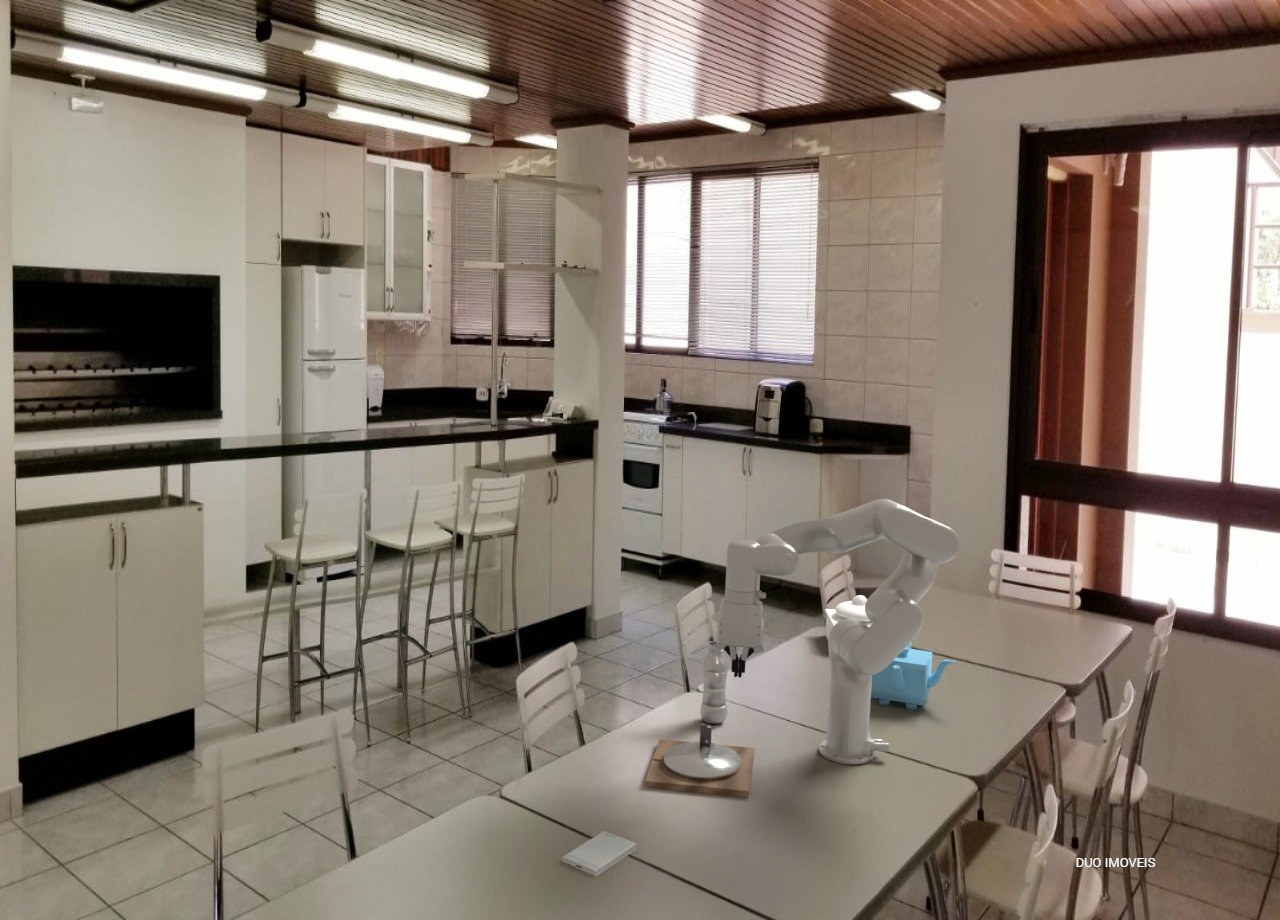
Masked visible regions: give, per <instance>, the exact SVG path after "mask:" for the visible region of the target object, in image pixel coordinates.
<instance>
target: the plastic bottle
mask: <svg viewBox="0 0 1280 920" xmlns="http://www.w3.org/2000/svg"><path fill="white" fill-rule="evenodd" d="M716 642H717V641H709V642H708V648H707V652H708V653H707V654H706V655H705V656H704V658H702V662H701V671H702V679H703V684H702V685H703V690H702V702H701V705H700V711H699V712H700V717H701V719H702V721H704V722H706V724H716V725H717V724H722V723H724V722H725V721H726V719H727V716H728V706H727V699H726V689H727V687H726V686H727V677H728V671H729V662H728V660H727V657H726V655H725V654H724V652H725V651H724V650H720V649H717V648H716V647H715V645H716Z"/></svg>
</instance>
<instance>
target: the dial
mask: <svg viewBox="0 0 1280 920" xmlns="http://www.w3.org/2000/svg"><path fill="white" fill-rule="evenodd" d="M699 728H700V730H699V741H687V742H688V743H682V744H678V745H675V746H673V747H671V748H669V749H668V750H667V751H666V752H665V754H664V765H665V767H666V768H667V769H668V770H669V771H671V772H672V773H674V774H676V775H679V776H682V777H685V778H689V779H696V780H717V779H723V778H727V777H729V776H732V775H734V774H735V773H737V772H738V771H739V769H740V767H741V758H740V756H739V755H738V754H737V753H736V752H735V751H734V750H732V749H730V748H728V747H726V746H723V745H724V744H719V743H714V742H712V732H713V731H712V728H713V726H712V725H711V723H702V724H700V727H699Z"/></svg>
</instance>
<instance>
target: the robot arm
mask: <svg viewBox="0 0 1280 920" xmlns="http://www.w3.org/2000/svg"><path fill="white" fill-rule="evenodd" d="M882 539H883V540H885V541H887V542H889V543H891V544H892V545H894V546H897V547H899V548H900V549H902V550H904V551H903V557H902V559H901V562H900V563H899V565H898V566H897V568H896V569H895V570H894V571H893V572H892V573H891V575H889V576H888V577H887V579H885V580H884V581H883V582H882V583H881V584H880V586H878V587H877V588H876V589H875V590H874V591H873V593H871V594H870V596H869V597H868V598H867V601H866V604H865V613H866V615H867V617H868V619H869V620H870V621H871V622H872V623H873V624H872V625H871V626H870V627H868V626H866V625H865V624H864V623H862V622H860V621H858V620H855V619H844V620H841V621H839V622H838V623H836V624H835V625H834V627H833V628H832V630H831V632H830V635H829V640H827V642H828V643H827V644H828V645H827V648H828V656H829V657H828V659H829V686H828V700H827V718H826V722H827V723H826V735H825V736H826V738H825V739H824V740H822V741H821V742H820V743H819V746H818V752H819V753H820V755H821V756H822V757H824V758H825V759H826V760H828V761H831V762H835V763H838V764H844V765H861V764H866V763H869V762H870V761H872V760H873V759H874V758H875V751H879V752H889V749H890V747H889V746H890V745H889V743H888V742H884V741H883V739H881V738H880V739H879V738H877V739H876V738H873V737H871V734H870V719H871V699H872V697H871V690H872V675H875V674H877V673H879V672H881V671H882V670H884V669H885V668H886V667H887V666H888V665H889V664H890V663H891V662H892V661H893V660H894V659H895V658H896V657H897V656H898V655H899V654H900V653H901V652H902V651H903V650H904V649H905V648H906V647H907V646H908V645H909V644H910V643H911V642H913V641H914V640H915V639H916V637H917V636H918V634H919V633H920V631H921V628H922V626H923V623H924V614H923V610H922V607H921V606H920V605H919V604H918V603H919V602H920V601H921V600H922V599H923V597H924V596H926V594H927V593H928V591H929V590H930V589H932V586H933V585H934V583H935V580H936V579H937V578H936V577H937V573H938V568H939V564H945V563H948V562H951V561H952V560H954V559H955V558H956V557H957V555H958V553H959V551H960V548H961V541H960V537H959V535H958V533H957V531H955V530H954V529H953V528H951V527H949V526H948V525H945V524H943V523H941V522H938V521H937V520H935V519H932V518H930V517H926V515H925V516H924V515H922V514H920V513H918V512H916V511H914V510H912V509H911V508H909V507H907V506H905V505H902V504H900V503H898V502H896V501H894V500H891V499H887V498H881V499H875V500H872V501H869V502H867V503H864V504H861V505H859V506H857V507H853V508H850V509H847V510H846V511H845V510H844V511H842V512H840V513H836V514H835V515H831V516H828V517H823V518H816V519H812V520H806V521H800V522H795V523H792V524H787V525H785V526H783V527H779V528H777V529H774V530H772V531H768V532H766V533H765V534H763V535H761V536H759V537H758V538H757V539H756V540H755V541H754V540H752V539H734V540H732V541H730V542H729V543H728V545H727V551H726V566H725V567H726V569H725V571H726V572H725V588H724V589H725V591H724V598H722V599H721V602H720V606H719V613H718V620H717V630H716V641H715V642H716V645H715V647H716V648H717V649H720V650H724V652H726V654H727V655H728V656H729V657H730V659H731V670H730V671H731V672H732V673H733V678H740V679H741V678H742V675H743V674H746V664H747V663H746V660H747V659H748V658H749V657H751V656H752V655H753V654H759V653H763V652H764V649H765V648H764V644H763V639H764V629H765V628H764V622H765V621H764V620H765V619H764V618H765V617H764V608H763V607H764V606H763V601H761V600H762V599H766V598H767V593H766V592H763V591H761V590H760V586H761V583H760V582H761V575H762V576H771V577H778V578H784V577H788V576H790V575H792V574H794V572H796V570H797V569H798V567H799V564H800V559H799V555H803V554H808V553H823V554H825V553H826V554H844V553H845V552H846V553H847V552H849V551H852V550H854V549H857V548H859V547H862V546H865V545H867V544H870V543H874V542H876V541H879V540H882ZM737 648H742V652H741V654H740V655H739V654H738V651H737Z"/></svg>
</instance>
